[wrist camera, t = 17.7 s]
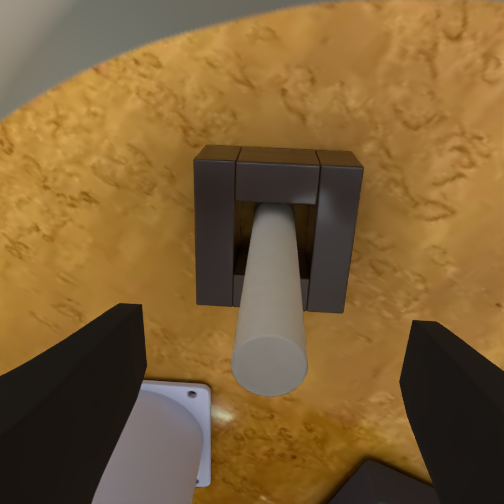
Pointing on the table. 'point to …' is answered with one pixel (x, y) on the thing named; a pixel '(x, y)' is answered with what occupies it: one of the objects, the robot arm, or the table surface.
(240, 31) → the table surface
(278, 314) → the peg
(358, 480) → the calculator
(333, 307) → the stand
